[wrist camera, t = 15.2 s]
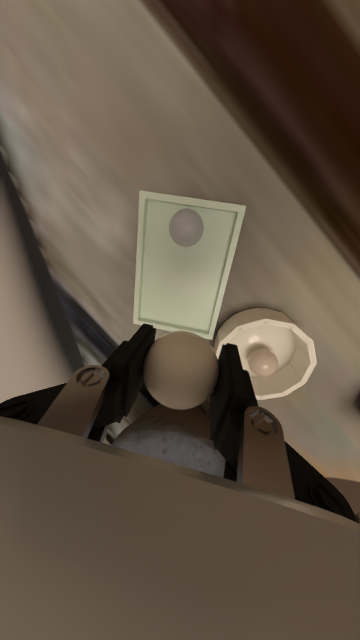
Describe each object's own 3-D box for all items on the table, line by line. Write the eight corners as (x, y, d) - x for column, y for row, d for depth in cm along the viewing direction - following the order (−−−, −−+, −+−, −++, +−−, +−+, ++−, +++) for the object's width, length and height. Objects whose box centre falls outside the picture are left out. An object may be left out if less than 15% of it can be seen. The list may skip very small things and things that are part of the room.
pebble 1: (174, 208, 23) (167, 202, 19) (207, 213, 22) (206, 208, 19) (170, 243, 24) (163, 244, 21) (200, 248, 24) (198, 249, 20)
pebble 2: (159, 312, 11) (133, 348, 7) (225, 327, 11) (232, 372, 7) (151, 365, 13) (127, 415, 9) (209, 379, 12) (207, 438, 9)
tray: (143, 193, 23) (139, 190, 21) (244, 208, 22) (246, 205, 20) (136, 319, 30) (133, 323, 28) (212, 335, 29) (212, 339, 27)
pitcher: (128, 369, 34) (-32, 620, 12) (249, 383, 31) (352, 755, 9) (137, 442, 42) (53, 672, 20) (234, 458, 39) (266, 752, 17)
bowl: (225, 300, 26) (227, 311, 22) (314, 317, 25) (334, 331, 21) (207, 368, 31) (206, 387, 27) (281, 385, 30) (292, 407, 26)
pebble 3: (251, 340, 28) (254, 355, 24) (278, 347, 27) (286, 363, 24) (243, 361, 29) (245, 378, 26) (269, 368, 29) (274, 386, 25)
